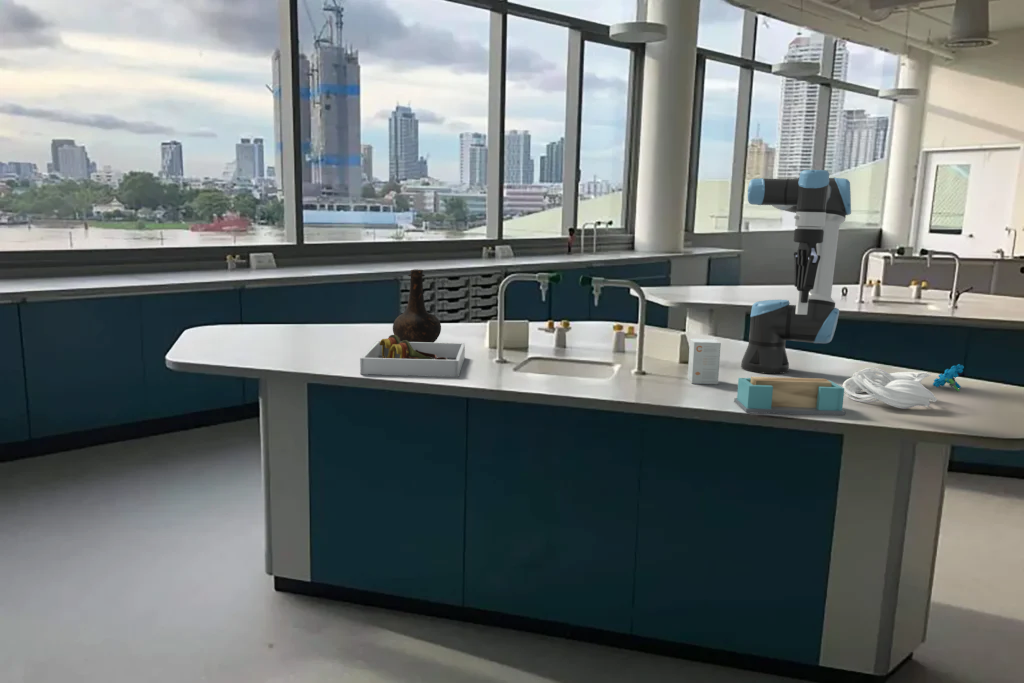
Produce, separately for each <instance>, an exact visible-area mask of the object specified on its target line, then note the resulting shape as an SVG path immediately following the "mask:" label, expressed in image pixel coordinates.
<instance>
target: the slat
mask: <svg viewBox="0 0 1024 683" xmlns="http://www.w3.org/2000/svg"><path fill="white" fill-rule="evenodd" d="M750 378H751V382H750V383H751V384H753V385H771V386H773V393H772V404H771V407H806V408H816V406H817V396H818V387H831V384H832V382H833V381H832V382H830V381H831V380H830V381H828V380H829V379H826V378H815V377H814V378H810V377H780V376H779V377H777V376H775V377H774V376H771V377H770V376H750Z"/></svg>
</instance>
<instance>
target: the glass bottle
mask: <svg viewBox="0 0 1024 683" xmlns="http://www.w3.org/2000/svg"><path fill="white" fill-rule="evenodd" d="M423 272H424V270H423V269H419V268H418V269H415V268H414V269H411V270H410V273H409V274H408V275H407V276H409V277H410V281H409V282H410V284H409V295H408V299H407V300H408V301H407V305H406V309H405V310H404V311H403V313H401V314H399V315H398V316H397V317H396V318H395V320H394V321H393V324H392V332H393V335H396V336H398V338H399V340H400V341H401V342H402V341H403V340H407V341H408V342H432V343H436V341H437V340H438V338H439V337H440V334H441V332H442V324H441V321H440V319H439V318H438V317H437V316H436V315H434V314H432V313H430V312H428V311H427V309H426V306H425V298H424V297H425V296H424V285H423V284H424V281H423V277H425V276H426V275H425V274H424V273H423Z"/></svg>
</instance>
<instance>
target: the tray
mask: <svg viewBox="0 0 1024 683" xmlns="http://www.w3.org/2000/svg"><path fill="white" fill-rule="evenodd" d="M380 341H381V340H380ZM380 341H379V340H377V341H376V342H375V343H374V344H373V345H372V346H371V347H370V348H369V349H368V350H367V351H366V352H364V354H363V355H361V357H360V358H359V362H360V363H359V367H360V368H359V369H360V372H359V373H360V375H368V374H382V375H383V374H384V375H383V376H408V375H418V377H454V378H458V377H460V374H461V371H462V370H461V369H462V368H463V367H462V366H463V364H464V361H465V357H466V353H465V352H466V351H465V350H466V345H465V344H466V343H465V342H464V343H463V342H434V343H432V342H409V343H410V345H411V346H412V348H413V349H414V350H418V351H420V352H424V353H430V354H434V355H436V358H439V357H445V358H447V359H448V358H449V359H448V360H435V358H432V359H396V358H383V357H382V345H379V344H380ZM385 374H386V375H385ZM382 375H381V376H382Z"/></svg>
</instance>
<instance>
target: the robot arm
mask: <svg viewBox="0 0 1024 683" xmlns="http://www.w3.org/2000/svg"><path fill="white" fill-rule="evenodd" d="M851 193H852V192H851V182H850V180H849V179H848V178H845V177H844V178H842V177H830V172H829V171H828V170H825V169H804V170H803V169H802V170H801V171H800V172H799V177H796V178H794V177H793V178H764V177H761V178H760V177H759V178H752V179H750V181H749V183H748V187H747V202H748V204H750V205H753V206H755V205H756V206H772V207H774V208H775V209H776V210H780V211H785V212H788V213H794V214H795V215H793V219H794V220H795V222H794V226H795V227H796V228H794V230H793V231H794V232H793V242H794V243H798V247H797V251H796V252H795V251H794V252H793V260H794V285H793V286H794V287H795V288H796V291H797V292H796V303H795V304H791V303H790V300H788V299H768V300H759V301H755V302H754V303H753V304H752V306H751V311H750V323H749V336H748V345H747V346H746V350H745V352H744V354H743V356H742V359H741V362H740V363H741V365H740V367H741V369H743V370H746V371H749V372H753V371H756V372H755V373H759V372H764V373H763V374H771V373H778V374H784V373H783V372H786V373H788V372H789V370H790V363H789V359H788V354H787V351H786V342H787V341H793V342H803V343H813V344H829V343H830V342H832V340H833V339H834V335H835V331H836V328H837V324H838V319H839V316H840V309H839V308H837V307H836V301H835V300H834V299H833V298H832V291H833V283H834V276H835V275H834V274H835V266H836V265H835V264H836V258H837V248H838V242H839V241H838V240H839V232H840V226H841V225H842V224H843V223H844V222H845V221H846V217H847V216H850V215H851V213H852V200H851V199H852V198H851V197H852V194H851ZM787 371H788V372H787Z"/></svg>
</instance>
